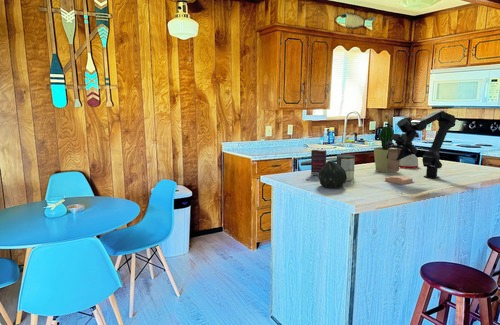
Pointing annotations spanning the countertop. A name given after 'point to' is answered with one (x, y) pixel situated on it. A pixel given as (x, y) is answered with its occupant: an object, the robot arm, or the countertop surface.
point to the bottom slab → (399, 184)
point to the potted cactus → (383, 150)
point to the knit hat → (409, 162)
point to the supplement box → (317, 161)
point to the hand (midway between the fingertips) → (392, 159)
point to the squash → (332, 175)
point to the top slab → (398, 179)
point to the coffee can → (347, 164)
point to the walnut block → (393, 159)
